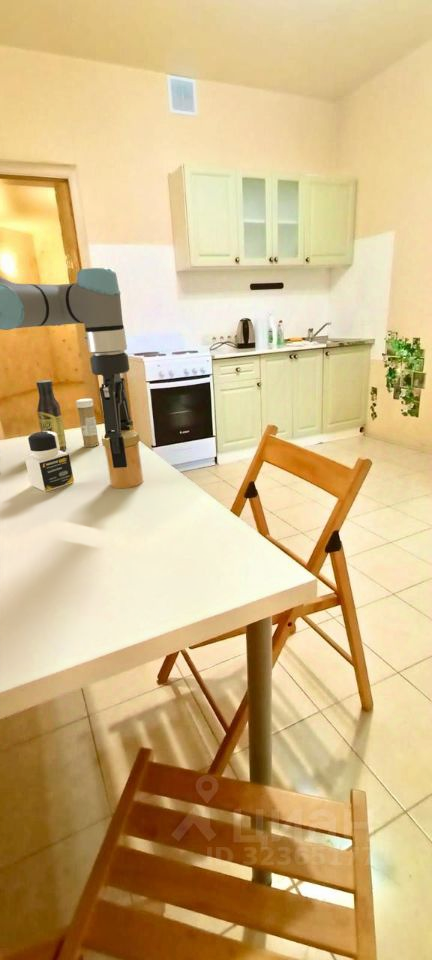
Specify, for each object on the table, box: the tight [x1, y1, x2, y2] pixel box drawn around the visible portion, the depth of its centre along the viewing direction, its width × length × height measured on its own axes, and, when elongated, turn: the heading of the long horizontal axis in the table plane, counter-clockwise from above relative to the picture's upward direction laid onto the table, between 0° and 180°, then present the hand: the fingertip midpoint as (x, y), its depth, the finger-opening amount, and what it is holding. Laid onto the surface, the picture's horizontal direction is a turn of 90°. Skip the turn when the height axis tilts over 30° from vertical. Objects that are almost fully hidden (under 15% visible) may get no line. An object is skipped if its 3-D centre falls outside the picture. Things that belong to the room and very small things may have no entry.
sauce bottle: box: [36, 379, 67, 452], centre depth 124 cm, size 7×6×20 cm
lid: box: [101, 429, 141, 448], centre depth 96 cm, size 8×8×2 cm
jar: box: [104, 442, 144, 489], centre depth 98 cm, size 7×7×10 cm
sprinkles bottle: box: [75, 398, 100, 448], centre depth 129 cm, size 5×5×13 cm
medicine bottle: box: [24, 431, 75, 493], centre depth 100 cm, size 7×7×12 cm
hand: (123, 460), depth 98 cm, fingers closed on lid, 8 cm apart
